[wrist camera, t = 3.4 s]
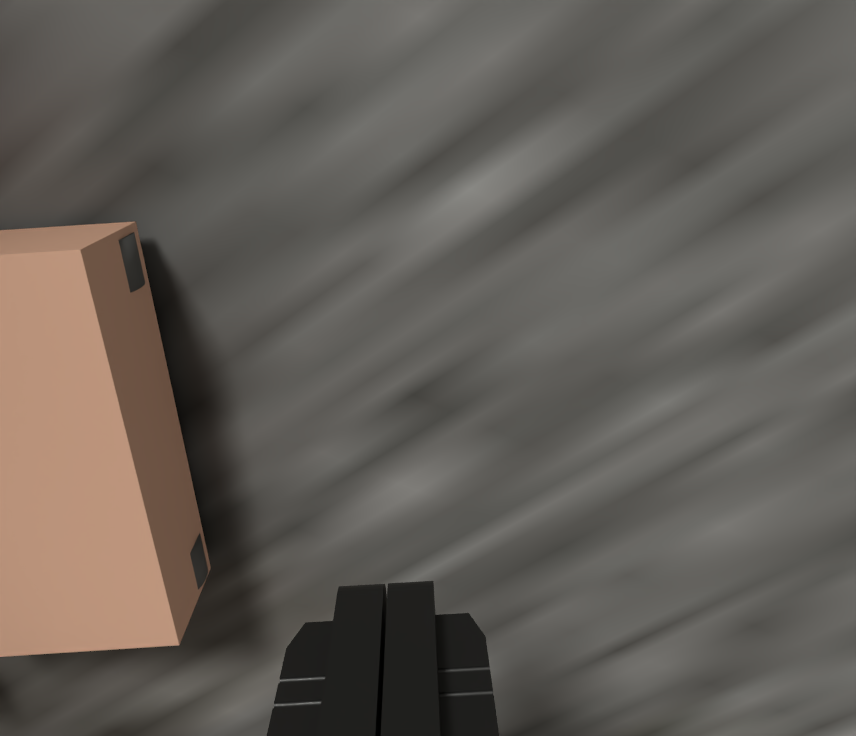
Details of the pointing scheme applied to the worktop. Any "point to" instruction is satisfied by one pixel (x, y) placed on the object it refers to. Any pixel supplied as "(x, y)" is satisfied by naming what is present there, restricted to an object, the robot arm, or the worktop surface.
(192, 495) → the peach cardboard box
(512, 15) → the worktop surface
